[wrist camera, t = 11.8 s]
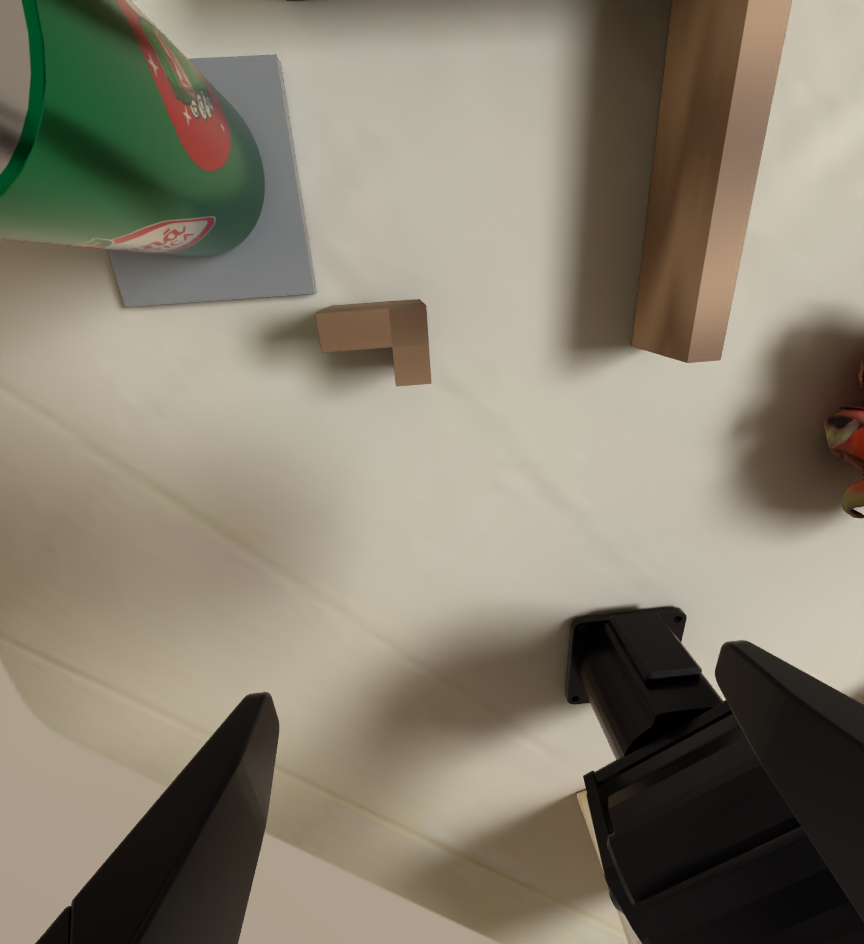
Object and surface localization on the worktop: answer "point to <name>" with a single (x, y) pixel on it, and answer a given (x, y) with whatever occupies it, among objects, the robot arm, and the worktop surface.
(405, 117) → the worktop surface
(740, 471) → the worktop surface
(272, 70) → the slate coaster
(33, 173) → the soda can
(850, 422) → the dragon fruit
